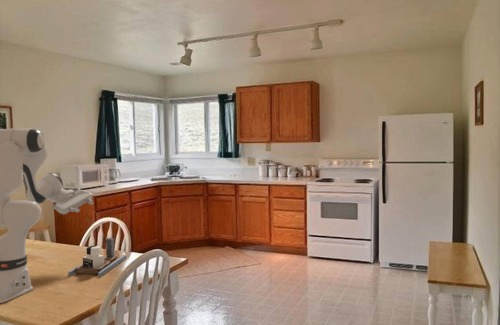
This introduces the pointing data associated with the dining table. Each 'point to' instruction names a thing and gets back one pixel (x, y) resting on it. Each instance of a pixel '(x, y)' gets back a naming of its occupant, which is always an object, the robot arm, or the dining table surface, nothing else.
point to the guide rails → (104, 268)
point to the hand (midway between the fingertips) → (85, 206)
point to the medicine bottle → (93, 258)
